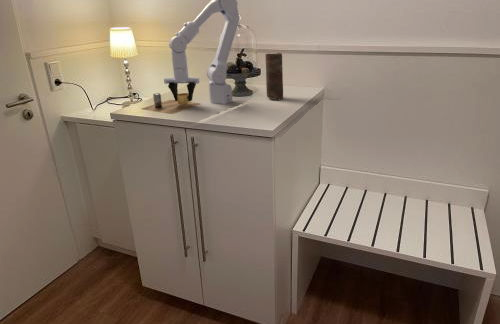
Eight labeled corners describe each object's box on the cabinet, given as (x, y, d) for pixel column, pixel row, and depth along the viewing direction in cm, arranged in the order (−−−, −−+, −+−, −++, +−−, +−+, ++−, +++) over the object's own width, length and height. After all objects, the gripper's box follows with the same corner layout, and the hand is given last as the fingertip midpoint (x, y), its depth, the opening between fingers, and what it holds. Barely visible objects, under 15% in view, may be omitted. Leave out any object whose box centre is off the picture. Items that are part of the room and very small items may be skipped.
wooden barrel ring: (193, 101, 158) (192, 93, 157) (184, 104, 154) (183, 96, 153) (183, 100, 161) (182, 92, 160) (174, 103, 157) (173, 95, 156)
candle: (263, 100, 166) (263, 53, 159) (269, 96, 173) (268, 51, 165) (280, 101, 164) (280, 53, 156) (285, 97, 170) (285, 51, 162)
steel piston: (163, 106, 157) (162, 93, 155) (158, 108, 155) (156, 95, 153) (158, 105, 159) (156, 93, 157) (153, 107, 156) (151, 94, 154)
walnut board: (201, 105, 160) (201, 103, 160) (172, 116, 146) (172, 114, 146) (170, 101, 169) (170, 99, 169) (140, 111, 155) (140, 108, 155)
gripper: (200, 65, 155) (203, 98, 160) (166, 66, 157) (170, 98, 162) (195, 68, 148) (198, 102, 153) (160, 69, 151) (164, 102, 156)
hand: (183, 100), depth 157 cm, fingers closed on wooden barrel ring, 5 cm apart
